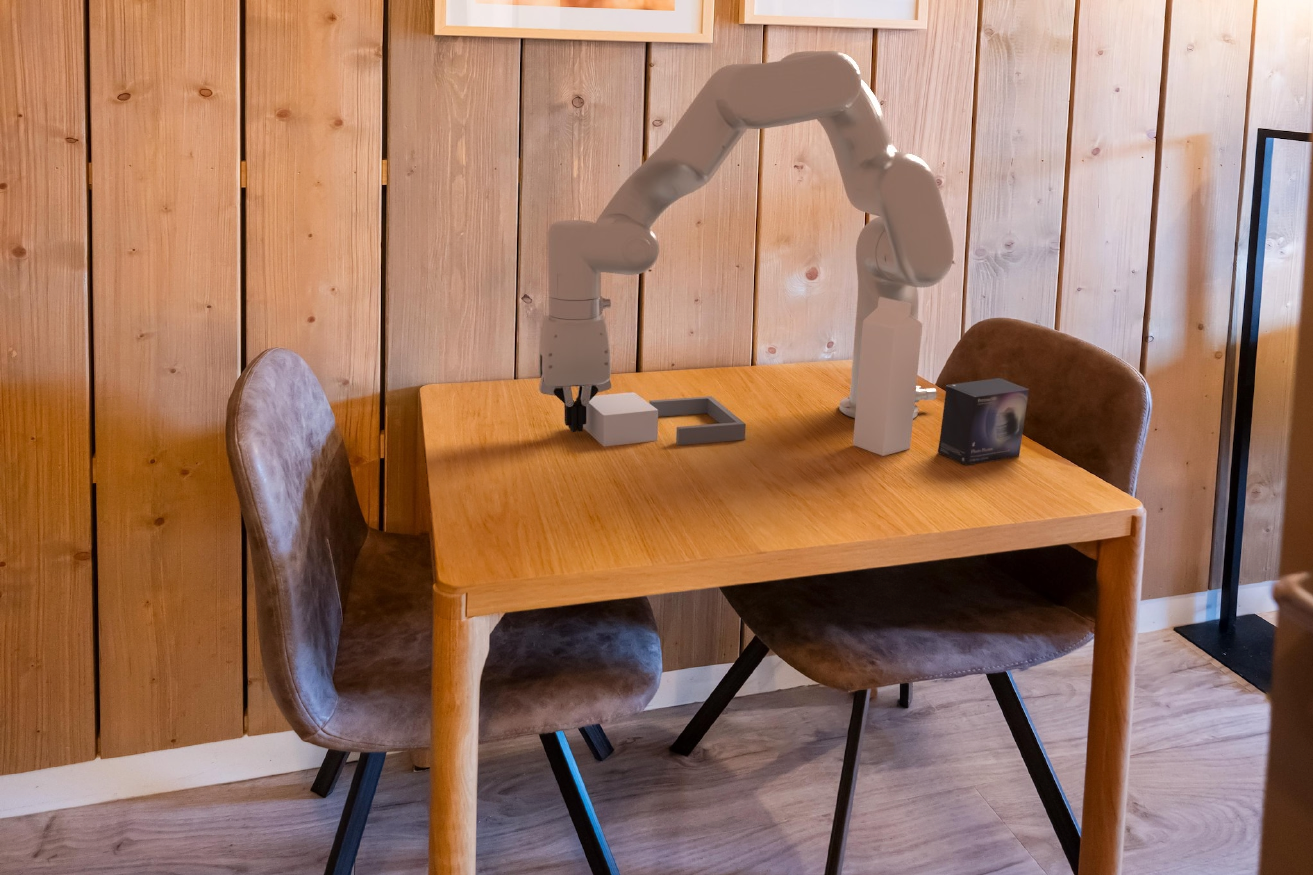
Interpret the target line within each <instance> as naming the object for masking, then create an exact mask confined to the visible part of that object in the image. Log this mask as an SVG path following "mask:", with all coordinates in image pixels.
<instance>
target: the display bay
mask: <svg viewBox="0 0 1313 875" xmlns="http://www.w3.org/2000/svg"><path fill="white" fill-rule="evenodd" d="M648 403H649V404H651V405H652V406H653V407H655V408H656V409H657V410H658V418H659V417H674V416H688V415H701V414H702V415H703V414H708V415H709V416H710V417H711V418H712V419H714V420H715V421H716V422H717V423H711V424H699V425H698V424H697V425H696V424H695V425H686V426H685V425H684V426H682V425H681V426H676V434H675V435H676V438H675V441H676V445H678V446H683V445H696V444H697V445H698V444H707V443H708V444H709V443H720V442H734V441H745V440H746V425H747V424H746V423H745V422H744V421H743V420H742V419H740V418H739V417H738V416H736V414H734V413H733V412H732V411H731V410H729V409H728V408H727V407H726V406H724V405H723V404H722V403H721V402H720V401H718V400H717V399H716V398H715V397H713V396H712V395H711V396H696V397H682V398H679V397H678V398H668V399H667V398H665V399H653V400H649V401H648Z"/></svg>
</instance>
